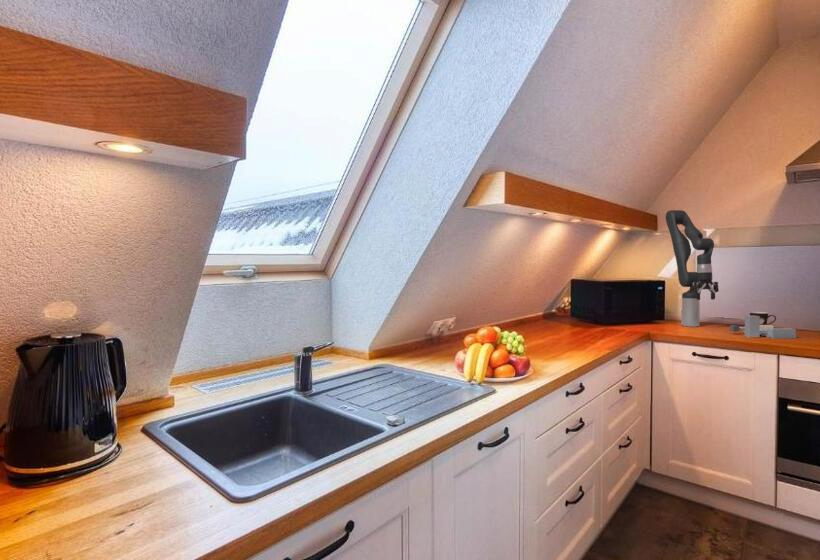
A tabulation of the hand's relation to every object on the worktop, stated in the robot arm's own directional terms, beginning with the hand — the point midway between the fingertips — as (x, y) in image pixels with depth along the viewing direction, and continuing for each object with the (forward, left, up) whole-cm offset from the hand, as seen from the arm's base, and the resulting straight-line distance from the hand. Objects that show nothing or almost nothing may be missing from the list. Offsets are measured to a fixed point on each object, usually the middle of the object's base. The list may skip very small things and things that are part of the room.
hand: (705, 299), depth 267 cm
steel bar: (+32, +3, -17) cm, 36 cm away
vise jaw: (+21, +11, -16) cm, 29 cm away
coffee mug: (+9, +27, -17) cm, 33 cm away
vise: (+27, +16, -17) cm, 35 cm away
